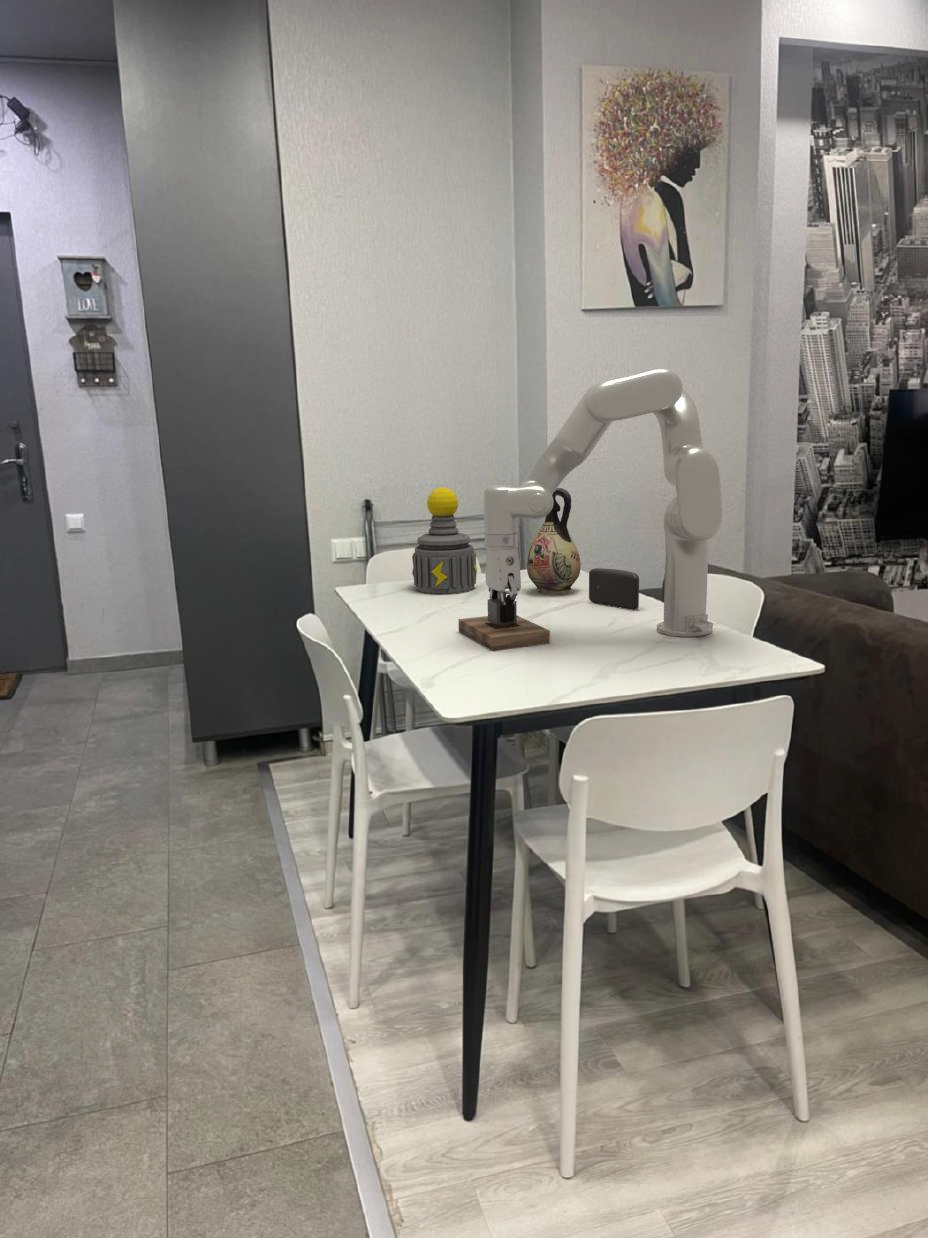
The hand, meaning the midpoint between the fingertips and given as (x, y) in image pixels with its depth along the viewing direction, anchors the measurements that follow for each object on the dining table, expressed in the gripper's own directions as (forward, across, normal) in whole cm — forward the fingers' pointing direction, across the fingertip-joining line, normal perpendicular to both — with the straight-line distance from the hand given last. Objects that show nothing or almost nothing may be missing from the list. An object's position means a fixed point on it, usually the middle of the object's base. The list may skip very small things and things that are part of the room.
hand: (502, 618), depth 205 cm
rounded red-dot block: (+5, +17, -40) cm, 44 cm away
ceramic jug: (+5, +41, -35) cm, 54 cm away
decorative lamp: (+5, +62, -9) cm, 63 cm away
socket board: (+4, 0, 0) cm, 4 cm away
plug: (+1, 0, 0) cm, 1 cm away
